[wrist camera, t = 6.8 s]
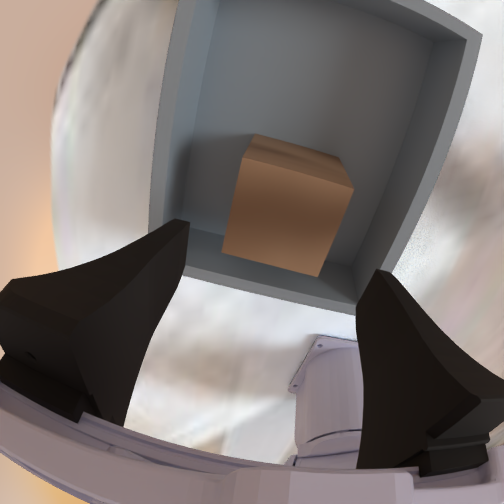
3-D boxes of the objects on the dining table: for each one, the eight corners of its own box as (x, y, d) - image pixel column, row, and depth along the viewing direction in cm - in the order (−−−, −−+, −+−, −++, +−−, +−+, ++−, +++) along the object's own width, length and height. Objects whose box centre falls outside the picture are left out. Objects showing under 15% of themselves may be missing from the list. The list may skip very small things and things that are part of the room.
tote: (354, 270, 22) (365, 317, 18) (173, 225, 22) (147, 265, 18) (440, 37, 13) (482, 34, 8) (218, -28, 12) (194, -55, 8)
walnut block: (312, 229, 20) (317, 277, 16) (236, 208, 20) (221, 252, 16) (338, 157, 17) (354, 189, 13) (255, 133, 17) (242, 157, 13)
